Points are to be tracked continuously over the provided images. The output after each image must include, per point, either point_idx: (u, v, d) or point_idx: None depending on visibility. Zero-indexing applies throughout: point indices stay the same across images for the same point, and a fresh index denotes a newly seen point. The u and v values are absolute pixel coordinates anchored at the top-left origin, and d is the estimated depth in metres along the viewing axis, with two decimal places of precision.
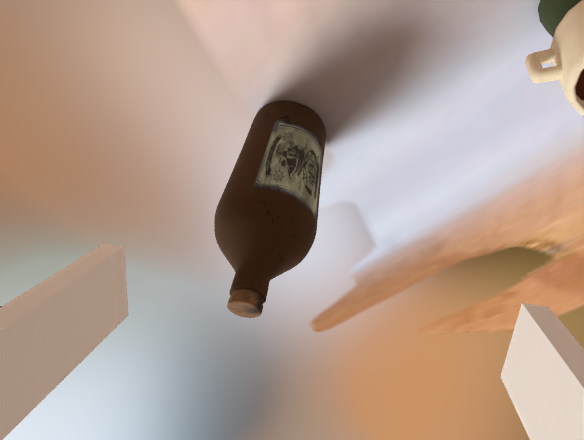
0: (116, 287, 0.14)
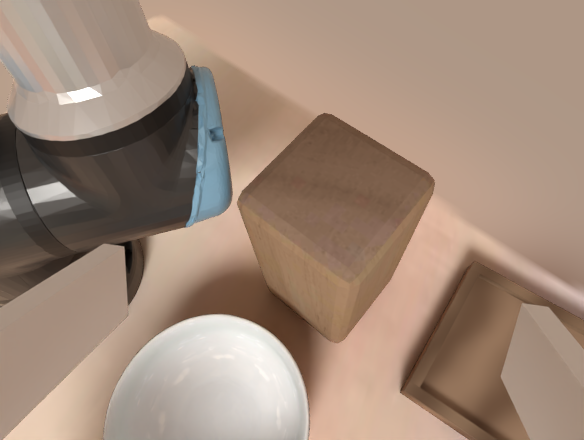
0: (116, 287, 0.14)
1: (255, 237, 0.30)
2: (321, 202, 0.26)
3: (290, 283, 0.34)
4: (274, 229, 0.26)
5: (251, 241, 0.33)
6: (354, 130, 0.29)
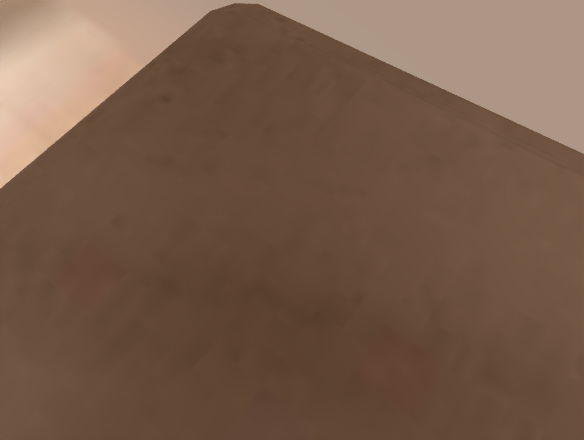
0: None
1: None
2: (188, 382, 0.05)
3: None
4: None
5: None
6: (341, 46, 0.08)
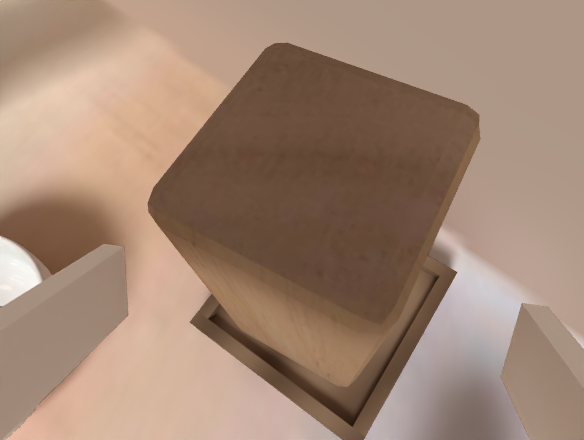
0: (116, 287, 0.14)
1: (196, 264, 0.18)
2: (298, 182, 0.15)
3: (268, 324, 0.22)
4: (221, 247, 0.14)
5: None
6: (330, 59, 0.17)
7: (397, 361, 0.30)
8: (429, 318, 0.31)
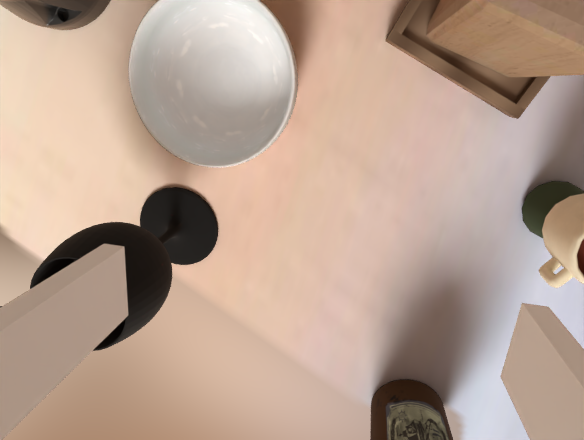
0: (116, 287, 0.14)
1: (478, 23, 0.25)
2: None
3: (497, 49, 0.30)
4: (536, 25, 0.22)
5: (456, 19, 0.28)
6: None
7: None
8: None
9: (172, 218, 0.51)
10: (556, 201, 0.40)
